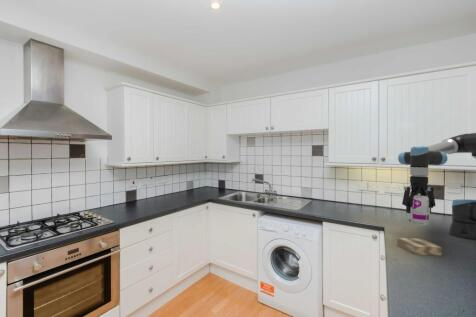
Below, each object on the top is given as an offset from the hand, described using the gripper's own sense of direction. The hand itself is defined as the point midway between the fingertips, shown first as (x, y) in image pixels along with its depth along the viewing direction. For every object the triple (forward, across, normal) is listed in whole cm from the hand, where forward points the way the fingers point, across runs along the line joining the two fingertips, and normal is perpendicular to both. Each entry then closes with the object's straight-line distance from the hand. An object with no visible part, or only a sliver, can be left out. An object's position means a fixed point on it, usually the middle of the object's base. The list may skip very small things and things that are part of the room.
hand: (418, 219), depth 120 cm
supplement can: (+2, 0, 0) cm, 2 cm away
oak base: (+16, 0, 0) cm, 16 cm away
